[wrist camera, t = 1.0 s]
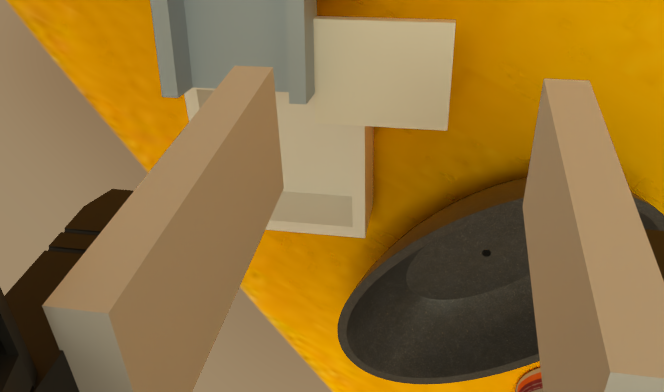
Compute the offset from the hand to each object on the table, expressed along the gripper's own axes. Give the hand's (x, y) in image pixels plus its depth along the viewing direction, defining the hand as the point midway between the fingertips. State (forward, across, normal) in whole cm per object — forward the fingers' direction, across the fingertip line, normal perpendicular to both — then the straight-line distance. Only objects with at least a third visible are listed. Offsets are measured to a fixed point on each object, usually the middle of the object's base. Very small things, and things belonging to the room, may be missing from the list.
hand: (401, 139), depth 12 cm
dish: (+25, -9, -14) cm, 30 cm away
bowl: (+25, +4, -21) cm, 33 cm away
